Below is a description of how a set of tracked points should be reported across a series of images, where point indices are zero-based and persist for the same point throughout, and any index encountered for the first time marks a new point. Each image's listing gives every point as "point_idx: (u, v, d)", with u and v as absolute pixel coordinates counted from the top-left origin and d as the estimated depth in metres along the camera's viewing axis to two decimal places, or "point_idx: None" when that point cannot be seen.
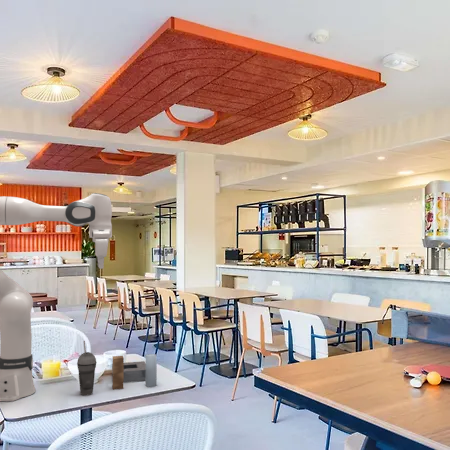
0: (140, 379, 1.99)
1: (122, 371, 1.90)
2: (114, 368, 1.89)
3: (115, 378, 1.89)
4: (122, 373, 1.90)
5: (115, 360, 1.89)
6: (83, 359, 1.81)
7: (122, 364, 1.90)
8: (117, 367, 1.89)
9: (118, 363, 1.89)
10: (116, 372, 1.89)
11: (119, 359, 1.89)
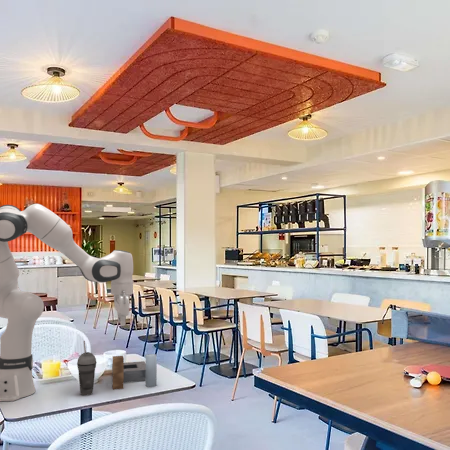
0: (140, 379, 1.99)
1: (122, 371, 1.90)
2: (114, 368, 1.89)
3: (115, 378, 1.89)
4: (122, 373, 1.90)
5: (115, 360, 1.89)
6: (83, 359, 1.81)
7: (122, 364, 1.90)
8: (117, 367, 1.89)
9: (118, 363, 1.89)
10: (116, 372, 1.89)
11: (119, 359, 1.89)
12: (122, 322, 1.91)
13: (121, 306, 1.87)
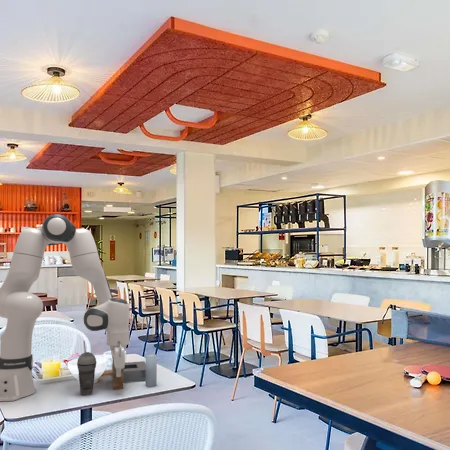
0: (140, 379, 1.99)
1: (122, 371, 1.90)
2: (114, 368, 1.89)
3: (115, 378, 1.89)
4: (122, 373, 1.90)
5: None
6: (83, 359, 1.81)
7: None
8: None
9: None
10: None
11: None
12: (118, 373, 1.88)
13: (116, 359, 1.82)
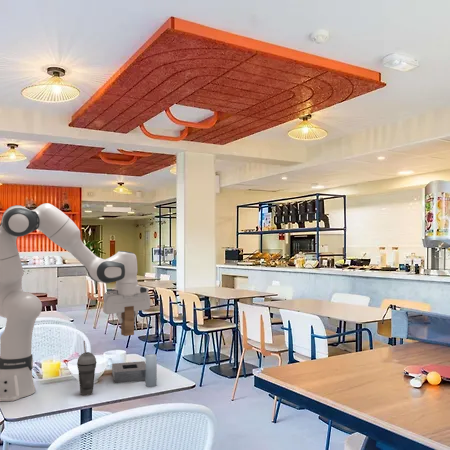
0: (140, 379, 1.99)
1: (124, 319, 1.99)
2: (121, 315, 2.02)
3: (121, 325, 2.01)
4: (124, 321, 1.99)
5: None
6: (83, 359, 1.81)
7: (124, 313, 1.99)
8: (122, 314, 2.01)
9: None
10: None
11: None
12: (119, 320, 2.00)
13: None
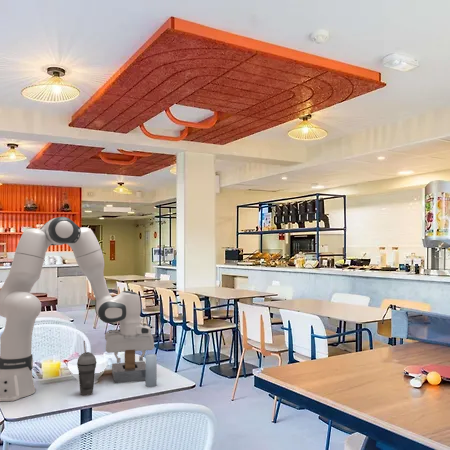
0: (140, 379, 1.99)
1: (125, 362, 2.03)
2: None
3: None
4: (125, 364, 2.03)
5: None
6: (83, 359, 1.81)
7: (125, 356, 2.03)
8: None
9: None
10: None
11: (125, 350, 2.04)
12: None
13: (106, 342, 2.04)
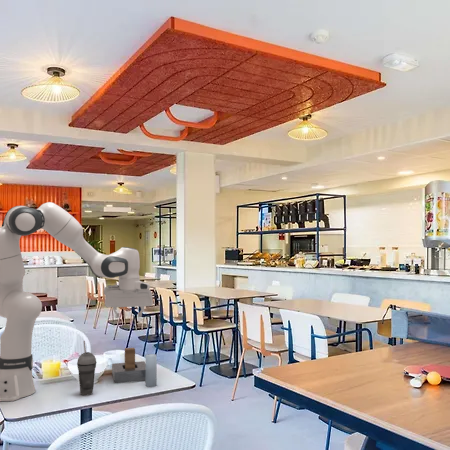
0: (140, 379, 1.99)
1: (125, 362, 2.03)
2: None
3: None
4: (125, 364, 2.03)
5: None
6: (83, 359, 1.81)
7: (125, 356, 2.03)
8: None
9: None
10: None
11: (125, 350, 2.04)
12: None
13: (105, 298, 2.04)
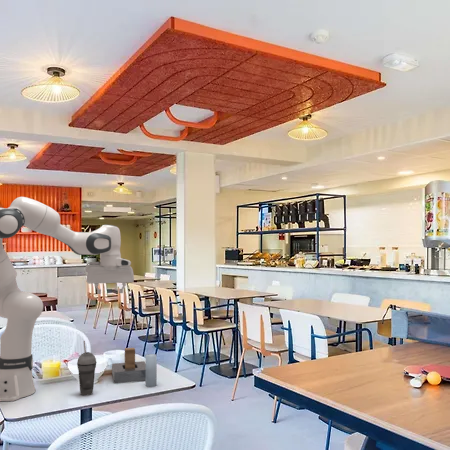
0: (140, 379, 1.99)
1: (125, 362, 2.03)
2: None
3: None
4: (125, 364, 2.03)
5: None
6: (83, 359, 1.81)
7: (125, 356, 2.03)
8: None
9: None
10: None
11: (125, 350, 2.04)
12: (97, 290, 2.09)
13: None
